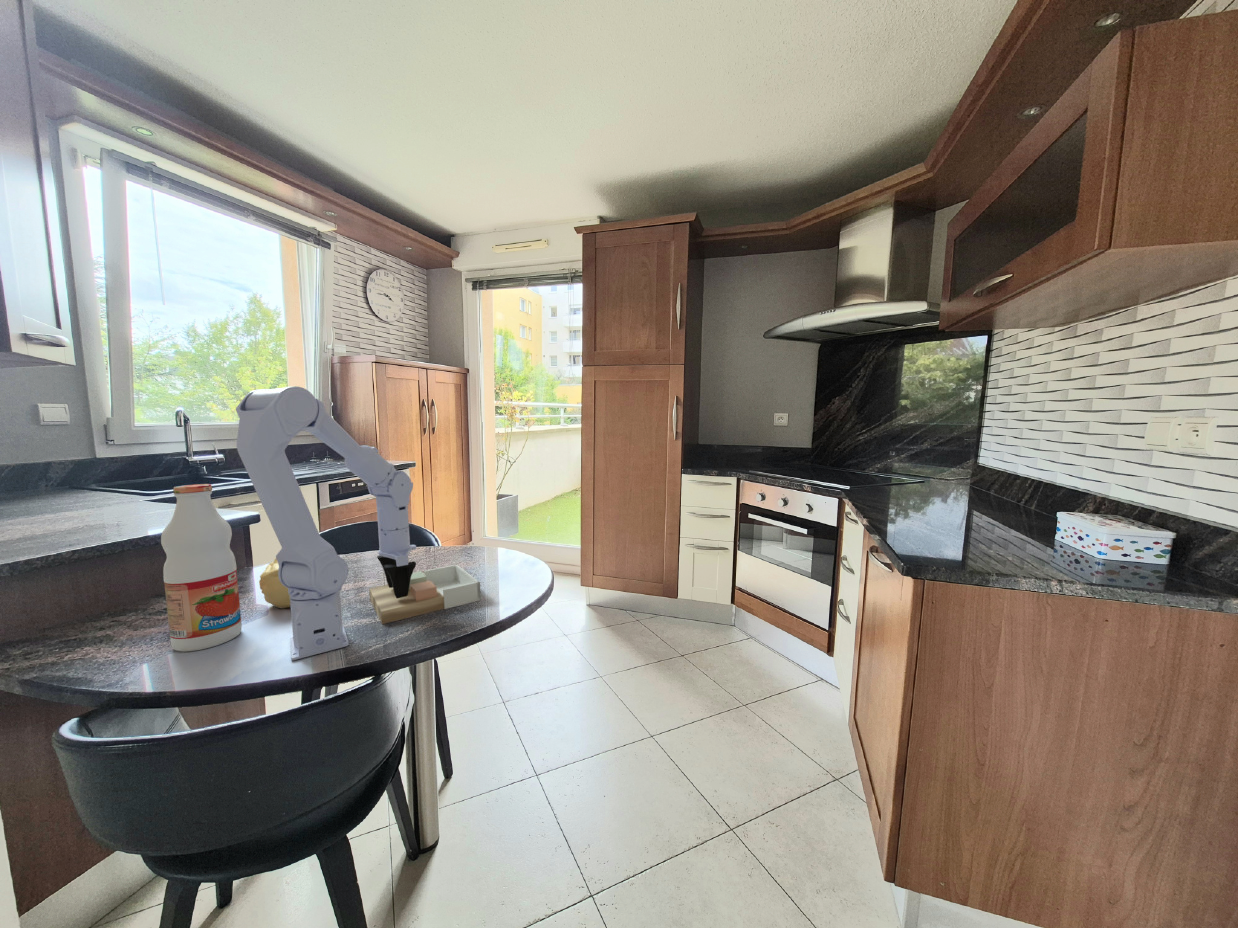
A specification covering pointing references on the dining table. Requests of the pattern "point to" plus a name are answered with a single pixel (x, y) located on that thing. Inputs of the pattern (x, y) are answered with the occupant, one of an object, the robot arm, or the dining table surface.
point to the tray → (454, 585)
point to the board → (401, 604)
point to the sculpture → (274, 587)
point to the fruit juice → (199, 573)
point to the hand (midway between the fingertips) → (398, 591)
